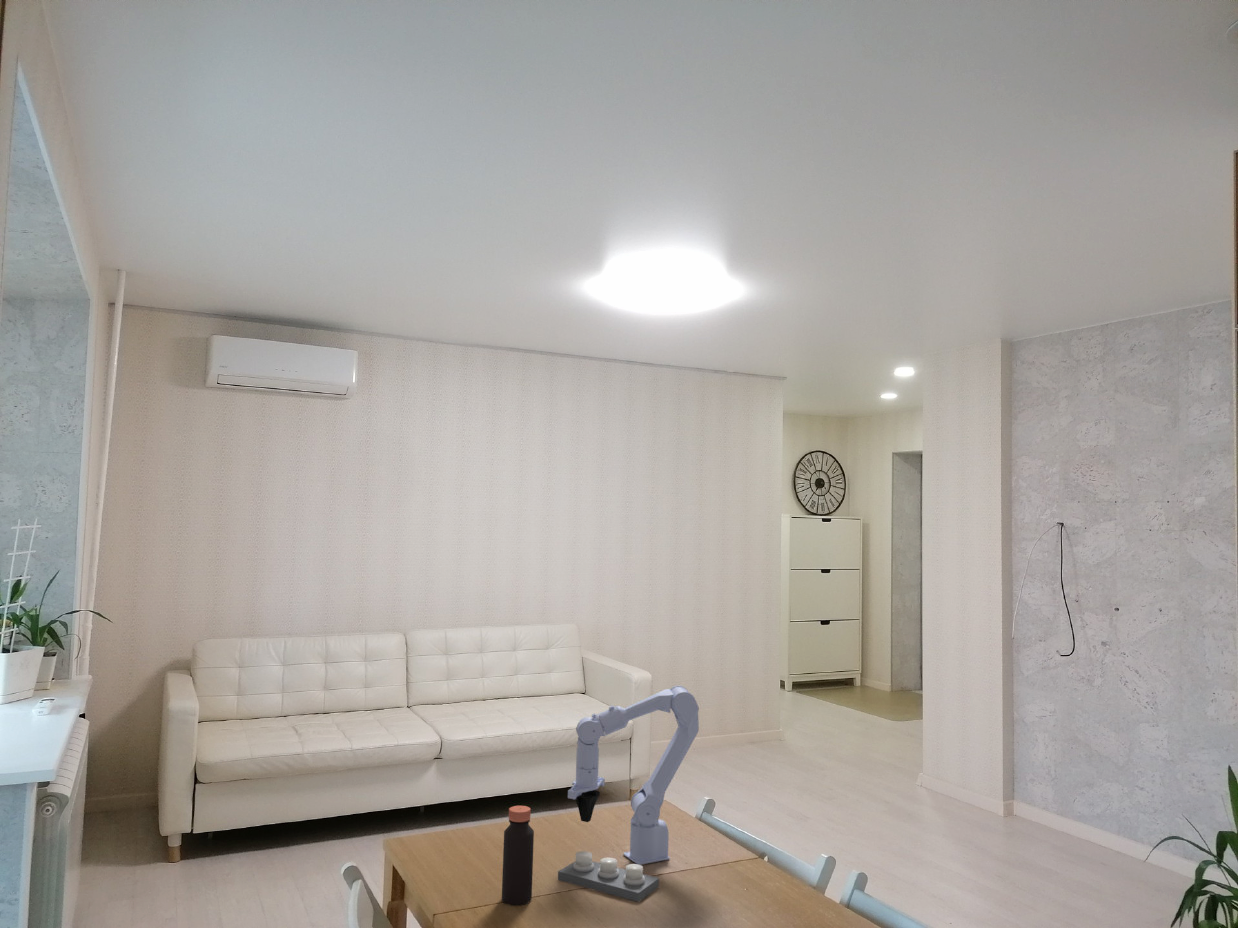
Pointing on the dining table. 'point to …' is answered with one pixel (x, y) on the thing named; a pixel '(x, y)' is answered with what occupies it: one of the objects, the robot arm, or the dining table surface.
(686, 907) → the dining table surface
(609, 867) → the knob
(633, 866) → the knob
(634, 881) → the knob panel
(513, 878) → the bottle
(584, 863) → the knob
